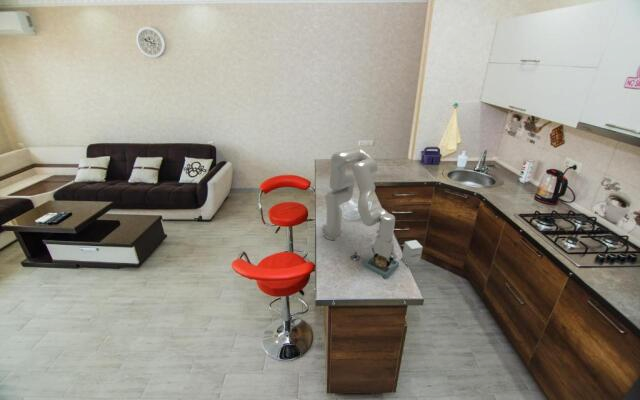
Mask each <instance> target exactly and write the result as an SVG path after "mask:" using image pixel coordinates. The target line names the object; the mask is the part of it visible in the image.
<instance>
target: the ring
mask: <svg viewBox="0 0 640 400" xmlns="http://www.w3.org/2000/svg"><path fill="white" fill-rule="evenodd" d="M374 263H375V265H376V266H378V267H379V268H387V267H386V264H387V258H386V257H383V256H381V255H378V256H376V257H375V261H374Z"/></svg>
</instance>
